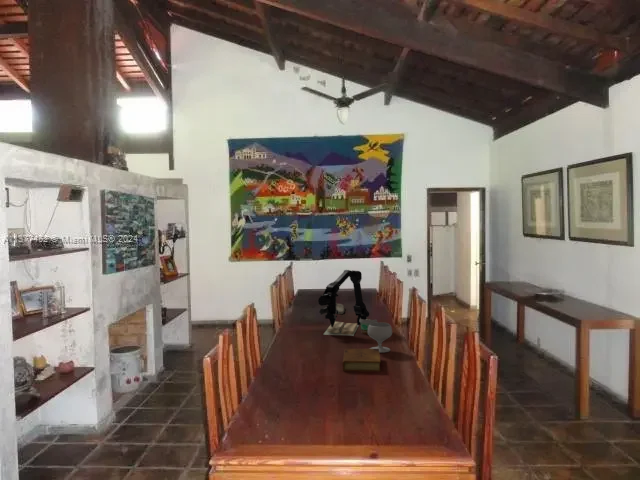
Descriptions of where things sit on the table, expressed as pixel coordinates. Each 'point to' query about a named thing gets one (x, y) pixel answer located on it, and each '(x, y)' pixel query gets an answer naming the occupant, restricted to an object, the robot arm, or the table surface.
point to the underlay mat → (340, 332)
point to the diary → (361, 360)
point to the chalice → (380, 334)
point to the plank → (336, 327)
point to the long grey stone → (340, 308)
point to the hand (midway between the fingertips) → (332, 326)
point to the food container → (366, 325)
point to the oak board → (349, 328)
